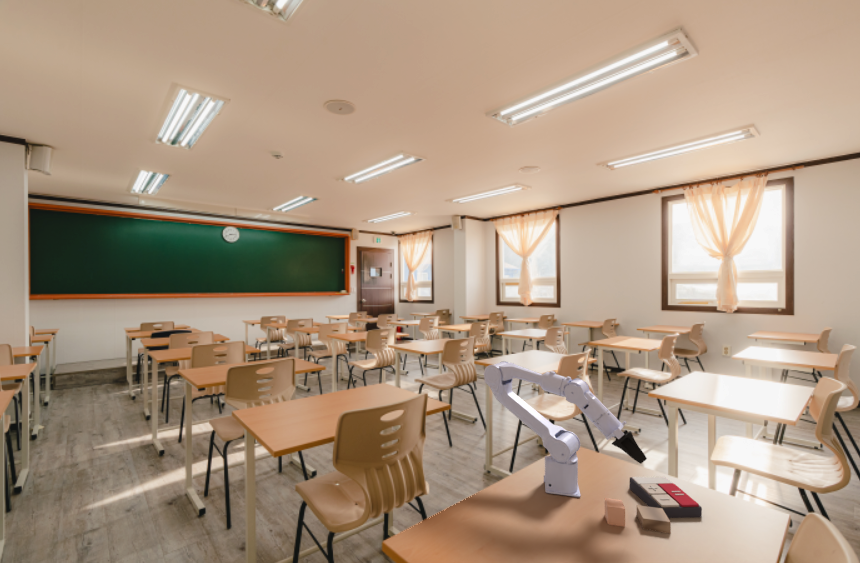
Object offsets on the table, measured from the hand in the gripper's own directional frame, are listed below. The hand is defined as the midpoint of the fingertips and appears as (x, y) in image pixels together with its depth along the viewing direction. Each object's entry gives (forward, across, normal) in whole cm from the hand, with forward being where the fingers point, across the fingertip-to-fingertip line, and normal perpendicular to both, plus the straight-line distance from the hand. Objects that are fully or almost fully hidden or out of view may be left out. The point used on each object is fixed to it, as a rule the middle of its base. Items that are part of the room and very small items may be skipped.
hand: (641, 460), depth 101 cm
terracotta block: (+6, -1, +16) cm, 17 cm away
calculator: (+12, +14, +3) cm, 19 cm away
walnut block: (+12, +1, +9) cm, 15 cm away
